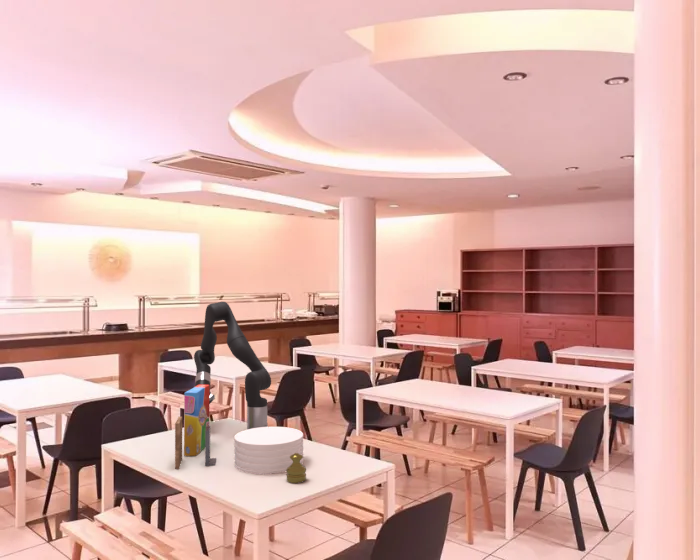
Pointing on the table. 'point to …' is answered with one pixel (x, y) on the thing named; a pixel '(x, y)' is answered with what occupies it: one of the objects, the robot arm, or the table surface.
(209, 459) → the dark metal bookend
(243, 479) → the table surface
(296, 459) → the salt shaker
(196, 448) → the game box
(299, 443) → the plate stack
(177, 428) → the oak shelf wall
